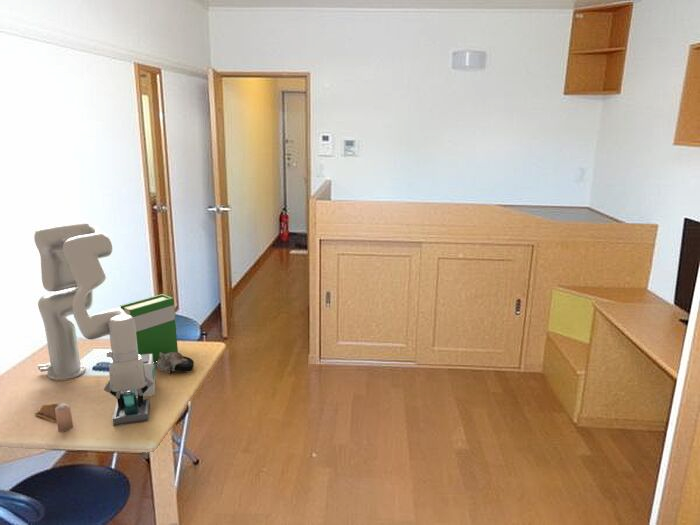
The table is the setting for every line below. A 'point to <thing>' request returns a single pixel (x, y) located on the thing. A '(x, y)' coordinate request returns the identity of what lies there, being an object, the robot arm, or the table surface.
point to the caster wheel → (174, 362)
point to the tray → (122, 419)
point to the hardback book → (154, 325)
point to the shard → (48, 412)
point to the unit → (148, 374)
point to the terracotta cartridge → (63, 417)
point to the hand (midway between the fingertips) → (131, 405)
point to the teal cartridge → (129, 402)
